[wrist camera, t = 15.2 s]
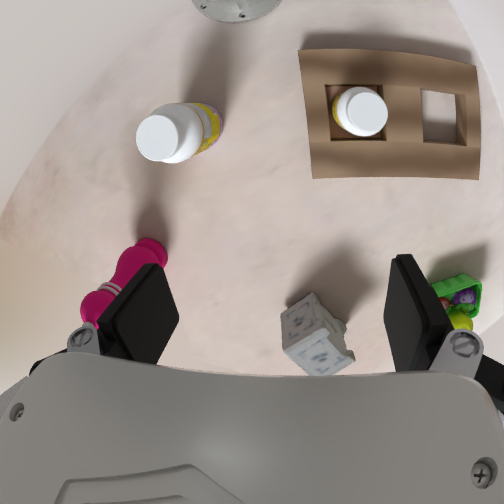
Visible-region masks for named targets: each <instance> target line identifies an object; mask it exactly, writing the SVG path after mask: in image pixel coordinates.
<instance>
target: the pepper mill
mask: <svg viewBox="0 0 504 504" xmlns="http://www.w3.org/2000/svg"><path fill="white" fill-rule="evenodd" d="M145 263H158V264H159V265H160V266H162V267H163V268H164V267H165V266H166V263H167V254H166V251H165V249H164V248H163V246H162V245H161V244H160V243H159V242H157V241H155V240H153V239H149V238H145V239H141V240H140V241H139V242H138V243H137V244H135V245H134V246H132V247H129V248H127V249H126V250H125V251H124V252H123V253H122V254H121V256H120V258H119V260H118V262H117V266H116V272H115V274H114V276H113V277H112V279H111V280H110V281H109V282H105V283H103V284H101V286H100V287H99V288H98V289H97V291H93V292H91V293H89V294H87V296H85V298H84V299H83V301H82V303H81V308H80V313H81V318H82V320H83V322H84V324H83V325H82V327H83V326H94V327H95V328H96V329H98V328H99V326H98V324H97V322H96V320H97V319H98V318H99V317H100V315H101V314H102V313H103V312H104V311H105V309H106V308H107V307H108V306H109V304H110V303H111V302H112V301H113V300H114V298H115V297H116V296H117V295H118V294H119V292H120V291H121V290H122V289H123V288H124V286H125V285H126V284H127V283H128V282H129V281H130V279H131V278H132V277H133V276H134V275H135V274H136V273H137V271H138V270H139V269H140V268H141V267H142V266H143V265H144V264H145Z"/></svg>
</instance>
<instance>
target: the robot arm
mask: <svg viewBox="0 0 504 504" xmlns="http://www.w3.org/2000/svg"><path fill="white" fill-rule="evenodd" d="M192 1H193V3H194V5H195V7H196V8H197V9H198V10H199V11H200V12H201V13H203V14H204V15H206V16H207V17H209V18H211V19H214V20H217V21H220V22H227V23H240V22H247V21H250V20H254V19H257V18H259V17H262V16H264V15H266V14H267V13H269V12H270V11H272V10H273V9H274V8H275V7H276V6H277V5H278V4H279V3H280V2H281V0H192ZM205 7H206V8H205ZM204 8H205V9H204ZM242 16H245V17H244V18H242ZM96 322H97V324H98V326H99V328H98V329H96V328H95V327H94V326H83V327H80V328H79V329H77V330H75V331H74V332H73V333H72V334H71V335H70V337H69V338H68V342H67V349H65V350H62V351H60V352H58V353H55V354H53V355H51V356H49V357H46V358H44V359H42V360H39V361H37V362H35V363H34V365H33V366H32V368H31V370H30V373H29V377H27V376H26V377H24V378H23V379H22V380H20V381H19V382H18V383H16V384H15V385H13V386H12V387H11V388H9V389H8V390H7V391H5V392H4V393H3V394H1V395H0V504H504V365H502V364H501V363H498V362H497V361H495V360H493V359H491V358H489V357H487V356H485V355H483V350H484V346H483V342H482V340H481V338H480V337H479V336H478V335H477V334H476V333H474V332H472V331H471V330H467V329H454V327H453V325H452V323H451V321H450V319H449V317H448V314H447V312H446V311H445V309H444V307H443V305H442V303H441V301H440V299H439V297H438V295H437V293H436V291H435V290H434V288H433V287H432V286H429V284H428V282H427V280H426V278H425V277H424V275H423V273H422V271H421V270H420V268H419V266H418V264H417V263H416V261H415V259H414V258H413V256H412V255H411V254H398V255H397V256H396V258H393V259H392V262H391V269H390V277H389V284H388V290H387V297H386V303H385V308H384V324H385V328H386V331H387V335H388V339H389V343H390V348H391V352H392V356H393V360H394V365H395V370H396V372H387V373H372V374H354V375H326V376H282V375H254V374H237V373H224V372H212V371H202V370H193V369H184V368H176V367H168V366H161V365H156V364H157V362H158V360H159V358H160V356H161V354H162V352H163V351H164V348H165V347H166V345H167V343H168V341H169V339H170V337H171V335H172V333H173V332H174V330H175V328H176V326H177V324H178V322H179V314H178V311H177V308H176V305H175V302H174V299H173V297H172V294H171V291H170V288H169V285H168V282H167V279H166V276H165V272H164V269H163V267H162V266H160V265H159V264H158V263H145V264H144V265H143V266H142V267H141V268H140V269H139V270H138V271H137V273H136V274H135V275H134V276H133V277H132V278H131V279H130V281H129V282H128V283H127V284H126V285H125V286H124V288H123V289H122V290H121V291H120V292H119V294H118V295H117V296H116V297H115V298H114V300H113V301H112V302H111V303H110V304H109V306H108V307H107V308H106V309H105V311H104V312H103V313H102V314H101V315H100V317H99V318H98V319H97V320H96Z"/></svg>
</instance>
